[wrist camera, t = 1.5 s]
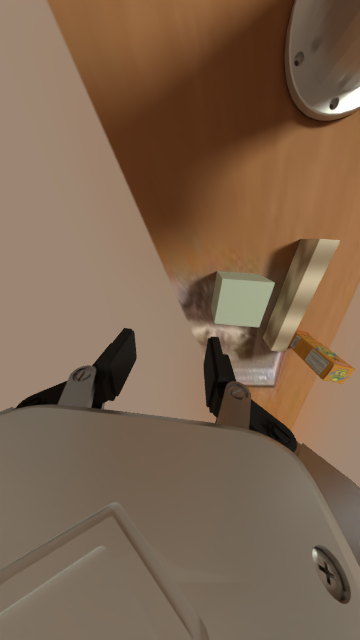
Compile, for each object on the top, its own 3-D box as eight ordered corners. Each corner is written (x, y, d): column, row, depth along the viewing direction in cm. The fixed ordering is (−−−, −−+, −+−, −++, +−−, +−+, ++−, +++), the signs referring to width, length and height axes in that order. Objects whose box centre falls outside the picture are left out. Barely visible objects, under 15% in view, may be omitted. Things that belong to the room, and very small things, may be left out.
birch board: (300, 239, 23) (319, 239, 19) (317, 240, 23) (340, 240, 19) (262, 338, 31) (271, 350, 28) (274, 339, 31) (285, 351, 28)
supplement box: (309, 331, 30) (359, 370, 21) (300, 345, 31) (342, 386, 22) (293, 328, 30) (335, 365, 21) (284, 342, 31) (320, 382, 22)
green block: (216, 270, 26) (222, 278, 21) (258, 274, 26) (275, 282, 20) (210, 308, 29) (214, 323, 24) (247, 311, 29) (259, 327, 24)
